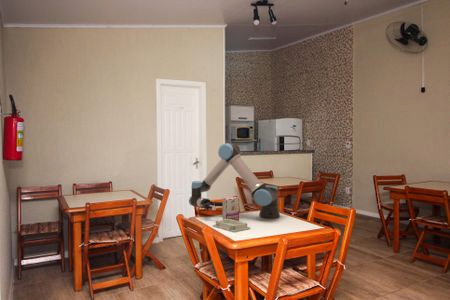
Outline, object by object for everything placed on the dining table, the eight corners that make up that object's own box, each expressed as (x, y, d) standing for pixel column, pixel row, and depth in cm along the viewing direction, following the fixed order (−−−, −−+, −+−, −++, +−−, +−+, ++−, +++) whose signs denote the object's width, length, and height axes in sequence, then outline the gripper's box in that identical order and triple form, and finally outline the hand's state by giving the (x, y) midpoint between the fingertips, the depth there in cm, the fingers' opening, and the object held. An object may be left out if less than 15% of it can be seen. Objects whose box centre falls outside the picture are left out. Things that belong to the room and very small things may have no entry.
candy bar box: (234, 220, 246) (235, 197, 246) (239, 221, 242) (239, 197, 242) (221, 222, 239) (222, 198, 239) (226, 223, 235) (226, 199, 235)
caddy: (228, 223, 236) (228, 218, 236) (250, 228, 221) (250, 223, 221) (212, 226, 226) (212, 221, 226) (234, 232, 212) (234, 226, 211)
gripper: (216, 206, 270) (235, 210, 255) (190, 210, 254) (208, 214, 238) (216, 196, 270) (235, 200, 254) (190, 199, 254) (209, 203, 238)
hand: (222, 207), depth 246 cm, fingers open, 13 cm apart
